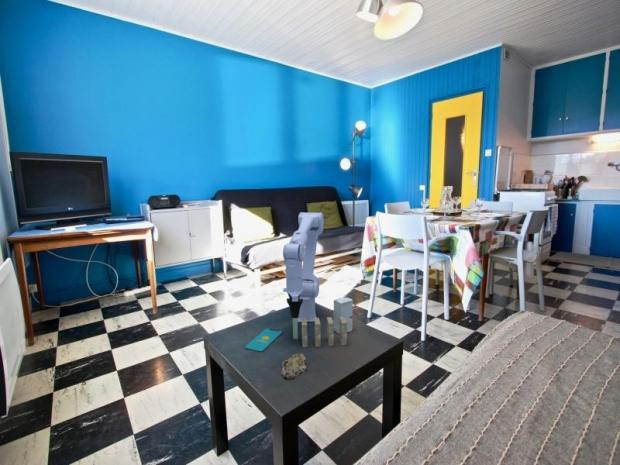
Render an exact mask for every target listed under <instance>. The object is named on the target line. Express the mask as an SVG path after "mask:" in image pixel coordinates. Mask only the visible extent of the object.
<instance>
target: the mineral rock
mask: <svg viewBox="0 0 620 465" xmlns="http://www.w3.org/2000/svg"><path fill="white" fill-rule="evenodd" d="M281 364H282V365H281V372H280V374H281V376H283V378H284V379H285V378H286V380H291V379H292V380H293V379H296V378H297V377H298V376H299V375H300V374H302V373H305V372H307V369H308V361H307V359H306V357H305V355H304V353H296V354H293V355H291V356H289V357H288V359H285V360H284V361H282V362H281Z"/></svg>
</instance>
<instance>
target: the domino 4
mask: <svg viewBox="0 0 620 465" xmlns="http://www.w3.org/2000/svg"><path fill="white" fill-rule="evenodd" d="M334 332H335V331H334V319H333V318H332V317H331V316H329V317H326V340H327V344H328V346H329V347H332V346H334V344H335V343H334V342H335V340H334V339H335V338H334V337H335V336H334V334H335V333H334Z"/></svg>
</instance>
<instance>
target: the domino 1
mask: <svg viewBox="0 0 620 465" xmlns="http://www.w3.org/2000/svg"><path fill="white" fill-rule="evenodd" d="M298 323H299V322H298V321H297V318H292V336H293V337H292V338H293V340H295V339H297V340H298V339H299V337H298V336H299V331H298V329H299V328H298V327H299V326H298Z"/></svg>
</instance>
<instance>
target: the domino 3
mask: <svg viewBox="0 0 620 465" xmlns="http://www.w3.org/2000/svg"><path fill="white" fill-rule="evenodd" d="M313 323H314V324H313V325H314V329H313V330H314V336H313V337H314V343H315V344H314V345H315V347H321V341H322V340H321V321H320V318H319V317H316V318H314V321H313Z"/></svg>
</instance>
